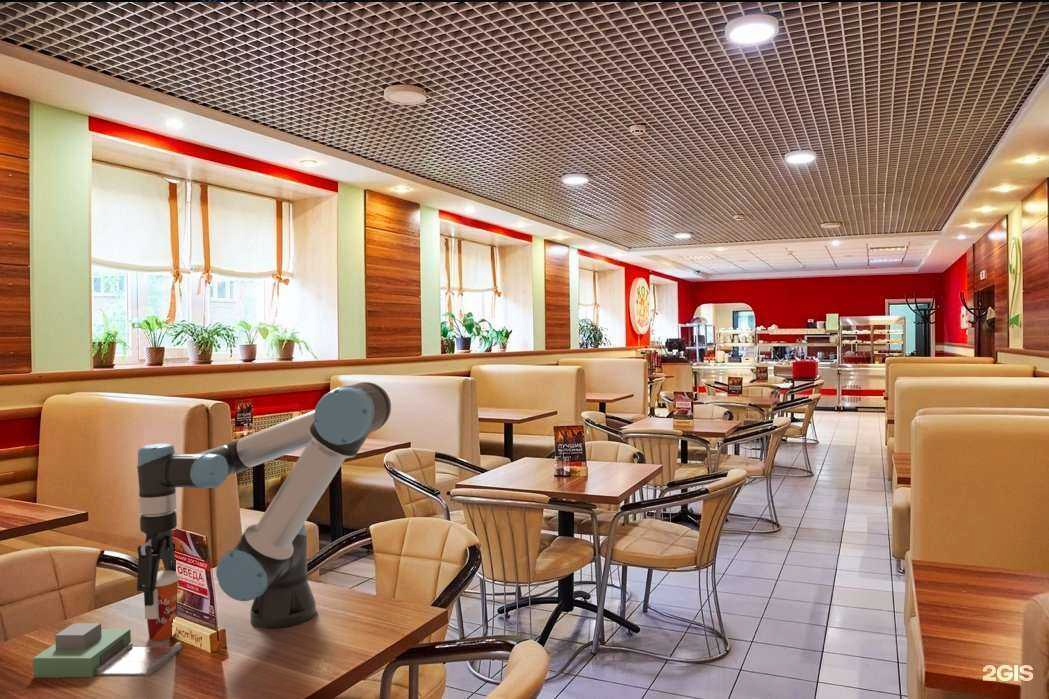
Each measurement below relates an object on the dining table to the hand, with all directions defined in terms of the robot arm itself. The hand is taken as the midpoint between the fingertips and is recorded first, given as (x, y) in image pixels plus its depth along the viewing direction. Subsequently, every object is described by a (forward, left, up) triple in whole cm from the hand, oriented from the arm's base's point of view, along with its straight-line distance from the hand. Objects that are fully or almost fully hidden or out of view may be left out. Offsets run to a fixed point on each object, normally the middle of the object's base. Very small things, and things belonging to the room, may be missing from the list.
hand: (162, 610), depth 169 cm
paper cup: (0, 0, -6) cm, 6 cm away
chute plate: (-2, +13, -6) cm, 14 cm away
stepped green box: (+10, +13, -6) cm, 17 cm away
